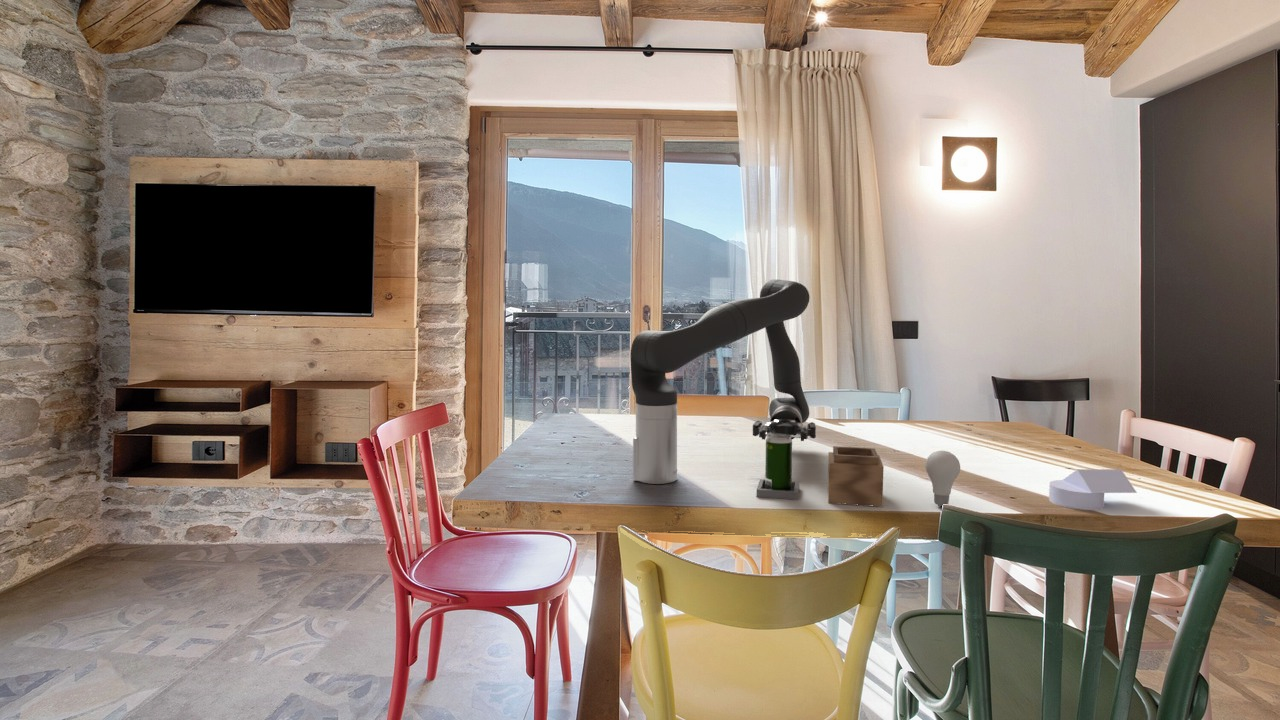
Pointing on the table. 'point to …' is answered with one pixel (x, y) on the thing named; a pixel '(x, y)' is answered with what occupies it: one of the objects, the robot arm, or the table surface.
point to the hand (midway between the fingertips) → (782, 435)
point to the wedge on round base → (1088, 488)
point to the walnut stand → (855, 476)
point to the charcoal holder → (778, 491)
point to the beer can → (778, 462)
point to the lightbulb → (942, 474)
